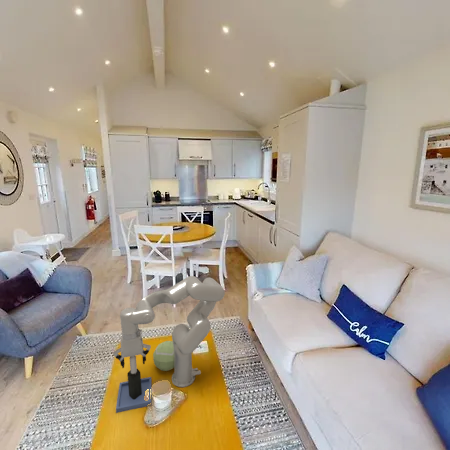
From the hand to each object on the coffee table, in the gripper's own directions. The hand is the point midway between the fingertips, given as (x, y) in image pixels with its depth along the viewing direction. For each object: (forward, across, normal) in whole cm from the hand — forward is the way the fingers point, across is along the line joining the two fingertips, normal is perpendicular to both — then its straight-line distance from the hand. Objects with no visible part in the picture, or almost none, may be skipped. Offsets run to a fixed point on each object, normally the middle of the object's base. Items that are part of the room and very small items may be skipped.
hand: (133, 364), depth 130 cm
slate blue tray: (+18, +1, 0) cm, 18 cm away
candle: (+18, +1, 0) cm, 18 cm away
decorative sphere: (+19, -16, -16) cm, 29 cm away
